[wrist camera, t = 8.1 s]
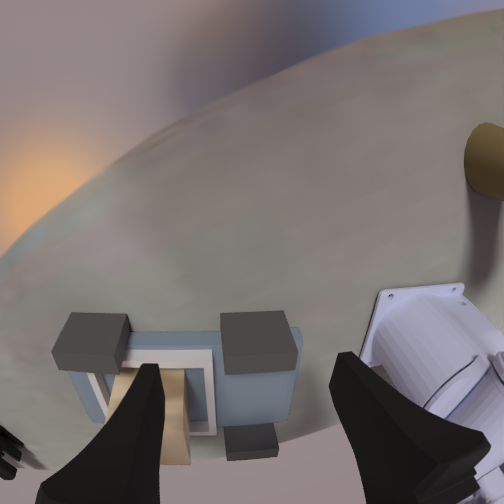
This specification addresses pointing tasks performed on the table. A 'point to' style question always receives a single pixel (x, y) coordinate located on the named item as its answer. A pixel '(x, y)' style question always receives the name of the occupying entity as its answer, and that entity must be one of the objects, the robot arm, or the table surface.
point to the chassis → (195, 371)
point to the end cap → (9, 453)
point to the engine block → (175, 411)
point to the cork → (486, 160)
